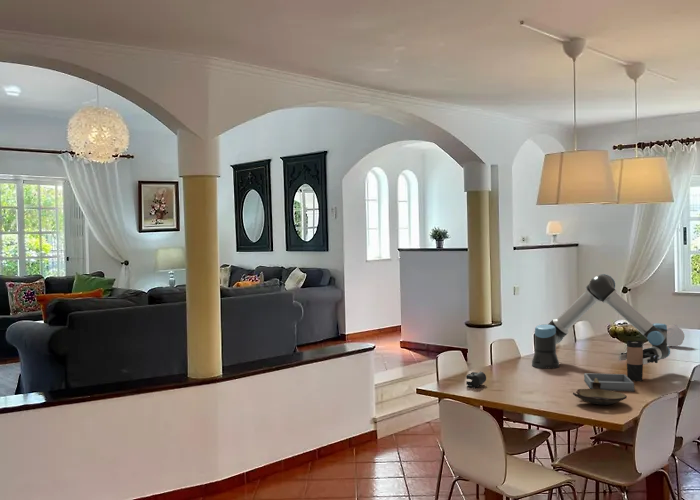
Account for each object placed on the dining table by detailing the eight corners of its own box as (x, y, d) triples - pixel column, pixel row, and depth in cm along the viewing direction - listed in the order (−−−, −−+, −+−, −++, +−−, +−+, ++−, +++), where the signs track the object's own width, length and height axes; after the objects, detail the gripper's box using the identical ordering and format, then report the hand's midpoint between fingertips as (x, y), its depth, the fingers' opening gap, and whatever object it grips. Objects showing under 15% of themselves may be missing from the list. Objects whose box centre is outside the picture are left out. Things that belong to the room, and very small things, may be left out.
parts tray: (590, 389, 314) (590, 381, 314) (584, 380, 333) (584, 373, 333) (634, 391, 310) (634, 383, 310) (625, 382, 329) (625, 374, 329)
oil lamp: (566, 406, 286) (565, 388, 285) (586, 392, 310) (586, 376, 309) (618, 413, 272) (618, 395, 272) (635, 398, 296) (635, 382, 296)
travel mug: (636, 382, 329) (636, 343, 328) (623, 379, 335) (623, 341, 335) (646, 380, 332) (646, 342, 332) (633, 377, 339) (633, 340, 339)
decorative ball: (656, 346, 430) (656, 324, 430) (664, 344, 439) (664, 322, 439) (680, 349, 419) (680, 326, 419) (687, 346, 428) (687, 324, 428)
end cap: (479, 389, 319) (479, 375, 318) (466, 387, 322) (465, 374, 322) (486, 385, 327) (486, 372, 327) (473, 383, 331) (473, 370, 331)
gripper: (674, 364, 336) (654, 370, 322) (629, 358, 354) (609, 363, 341) (674, 350, 336) (654, 355, 322) (629, 344, 354) (609, 349, 341)
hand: (631, 359), depth 331 cm, fingers open, 12 cm apart
